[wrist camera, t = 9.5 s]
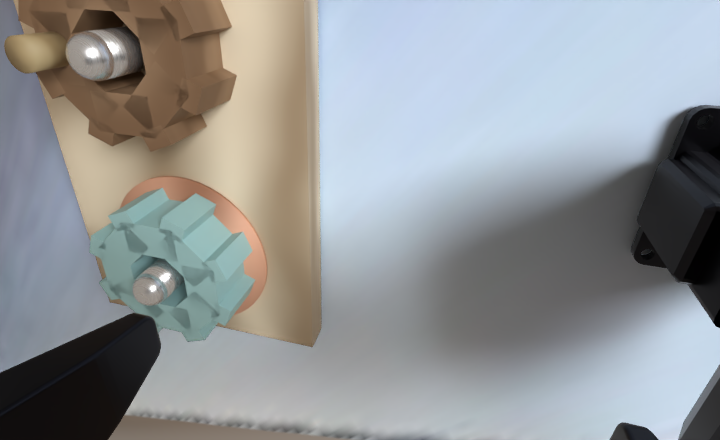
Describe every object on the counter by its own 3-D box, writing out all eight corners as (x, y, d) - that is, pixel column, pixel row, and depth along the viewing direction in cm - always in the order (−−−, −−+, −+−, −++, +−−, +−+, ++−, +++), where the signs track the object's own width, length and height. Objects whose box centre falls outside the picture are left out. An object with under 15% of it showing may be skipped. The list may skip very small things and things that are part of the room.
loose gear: (248, 201, 20) (219, 228, 18) (259, 319, 23) (236, 353, 21) (114, 179, 21) (73, 201, 19) (143, 294, 25) (111, 323, 23)
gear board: (316, -100, 15) (298, -110, 14) (321, 328, 25) (311, 349, 23) (15, -101, 18) (-27, -109, 16) (127, 287, 27) (107, 304, 26)
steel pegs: (168, 24, 17) (88, 35, 14) (208, 266, 23) (159, 316, 19) (133, 22, 17) (46, 31, 14) (181, 260, 23) (128, 309, 20)
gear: (223, -58, 15) (147, -71, 12) (243, 140, 18) (189, 175, 15) (54, -62, 16) (-59, -74, 13) (102, 122, 20) (23, 151, 17)
